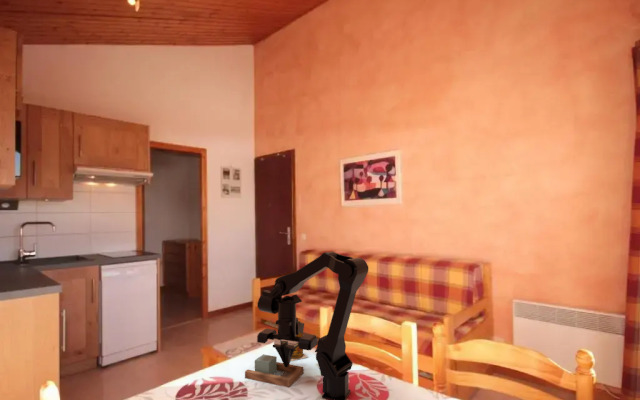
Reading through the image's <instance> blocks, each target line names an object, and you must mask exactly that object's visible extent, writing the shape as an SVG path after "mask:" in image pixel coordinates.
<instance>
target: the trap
mask: <svg viewBox="0 0 640 400" xmlns="http://www.w3.org/2000/svg"><path fill="white" fill-rule="evenodd" d="M291 373H292V372H286V371H285V372H282V373H281V374H280V375H279V376H283V377H288V376H289V375H290V374H291Z"/></svg>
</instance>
